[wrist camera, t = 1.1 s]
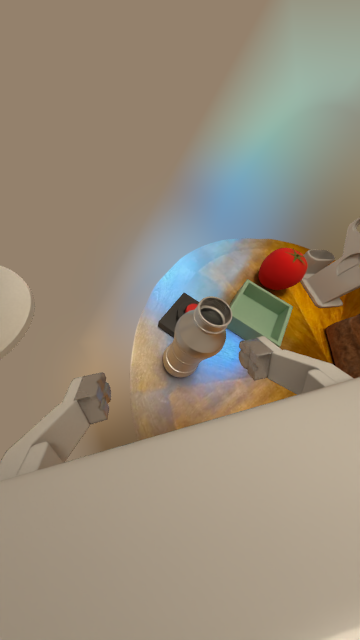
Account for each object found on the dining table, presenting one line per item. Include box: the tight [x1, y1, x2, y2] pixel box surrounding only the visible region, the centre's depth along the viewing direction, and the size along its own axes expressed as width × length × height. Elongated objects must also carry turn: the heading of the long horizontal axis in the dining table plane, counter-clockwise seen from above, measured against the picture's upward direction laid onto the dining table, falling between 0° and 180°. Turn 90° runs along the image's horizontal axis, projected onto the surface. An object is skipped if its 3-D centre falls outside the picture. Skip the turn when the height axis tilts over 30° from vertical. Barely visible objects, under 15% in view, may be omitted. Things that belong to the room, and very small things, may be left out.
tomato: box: [259, 248, 308, 290], centre depth 47 cm, size 10×11×11 cm
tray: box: [227, 279, 293, 347], centre depth 42 cm, size 13×13×5 cm
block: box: [158, 293, 199, 337], centre depth 38 cm, size 10×10×4 cm
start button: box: [184, 304, 198, 314], centre depth 36 cm, size 4×4×2 cm
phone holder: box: [300, 218, 360, 308], centre depth 48 cm, size 17×10×18 cm, turn 11°
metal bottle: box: [163, 297, 232, 377], centre depth 26 cm, size 6×7×20 cm
